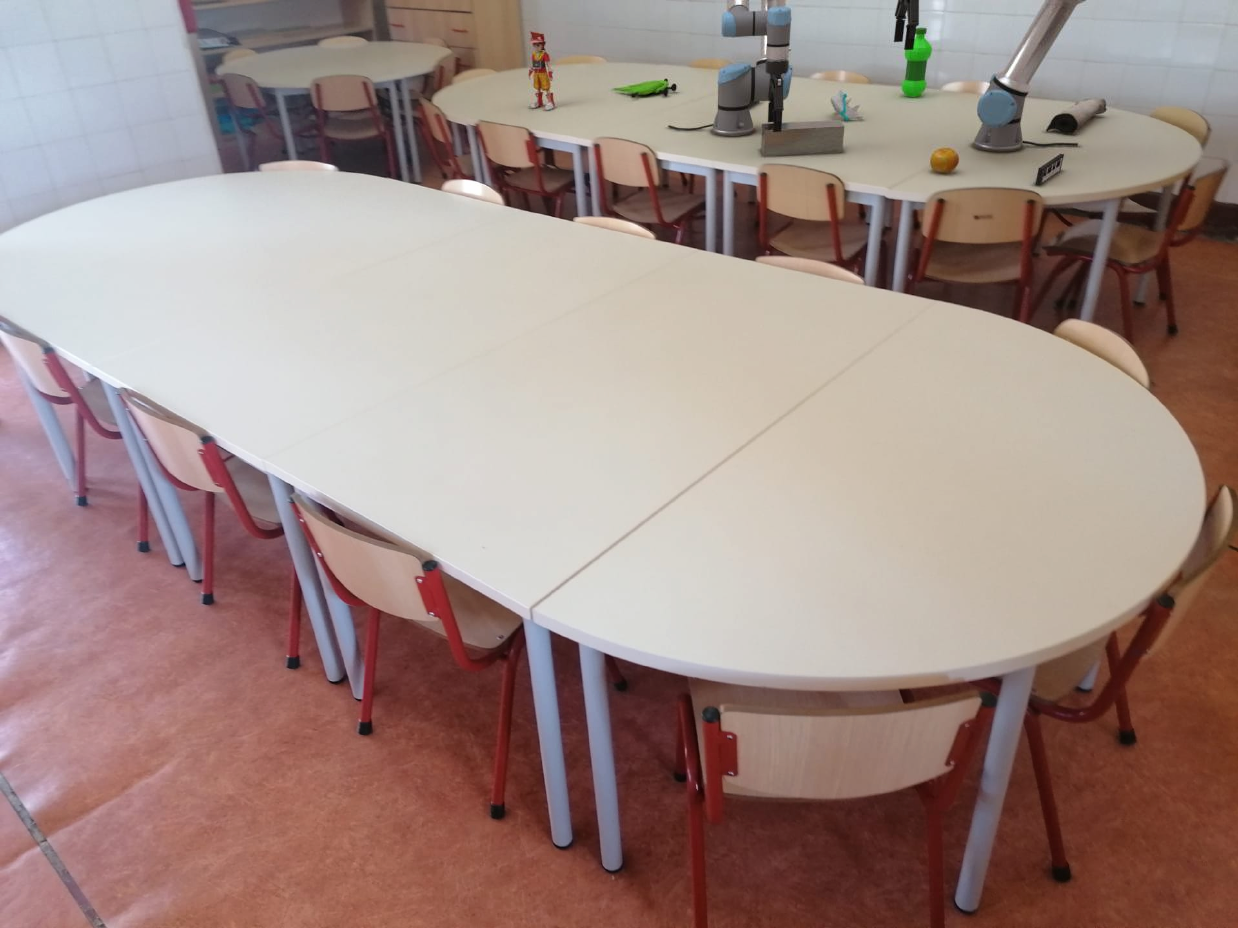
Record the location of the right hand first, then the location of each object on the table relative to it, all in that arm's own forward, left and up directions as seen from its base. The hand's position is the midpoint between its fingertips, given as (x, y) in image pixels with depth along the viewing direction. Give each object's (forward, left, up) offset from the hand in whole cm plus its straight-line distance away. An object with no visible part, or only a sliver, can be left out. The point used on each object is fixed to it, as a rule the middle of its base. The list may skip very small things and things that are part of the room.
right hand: (903, 46), depth 290 cm
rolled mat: (-68, -26, -33) cm, 79 cm away
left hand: (+40, +3, -24) cm, 47 cm away
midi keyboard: (-42, +35, -33) cm, 64 cm away
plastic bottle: (-18, -74, -33) cm, 83 cm away
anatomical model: (+12, -44, -33) cm, 56 cm away
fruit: (-12, +27, -33) cm, 44 cm away
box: (+31, +1, -33) cm, 45 cm away
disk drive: (+51, -66, -33) cm, 89 cm away
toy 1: (+136, -71, -33) cm, 157 cm away
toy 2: (+96, -94, -33) cm, 138 cm away
